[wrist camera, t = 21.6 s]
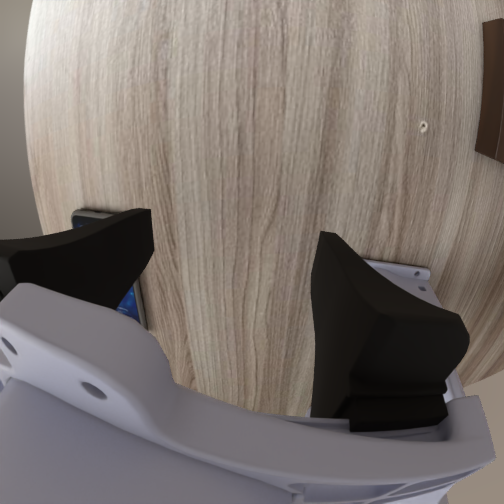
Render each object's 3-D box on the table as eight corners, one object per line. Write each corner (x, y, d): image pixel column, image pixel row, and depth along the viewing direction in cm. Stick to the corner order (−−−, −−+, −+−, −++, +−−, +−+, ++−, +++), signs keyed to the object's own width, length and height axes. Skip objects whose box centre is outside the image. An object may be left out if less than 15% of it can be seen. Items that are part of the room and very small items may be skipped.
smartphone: (128, 218, 22) (147, 339, 30) (133, 213, 23) (150, 333, 31) (67, 210, 23) (95, 323, 30) (73, 206, 23) (99, 318, 31)
